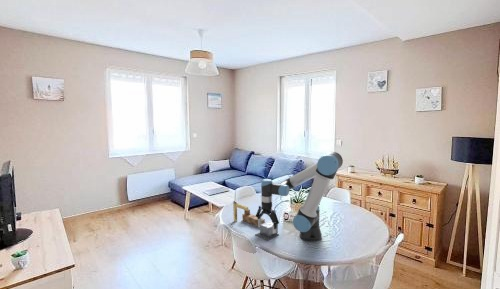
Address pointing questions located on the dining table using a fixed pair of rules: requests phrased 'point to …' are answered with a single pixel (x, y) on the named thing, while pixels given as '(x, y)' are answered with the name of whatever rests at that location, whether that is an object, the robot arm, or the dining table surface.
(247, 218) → the plane body
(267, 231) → the light grey block
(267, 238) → the mat
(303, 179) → the robot arm
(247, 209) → the tan wooden flat frame
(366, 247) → the dining table surface
